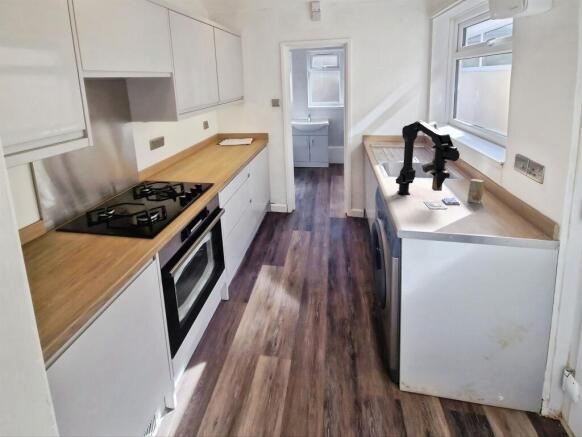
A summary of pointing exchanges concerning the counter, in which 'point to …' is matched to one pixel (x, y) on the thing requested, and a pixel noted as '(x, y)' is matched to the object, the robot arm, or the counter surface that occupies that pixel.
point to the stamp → (434, 185)
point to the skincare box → (475, 190)
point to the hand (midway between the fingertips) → (436, 187)
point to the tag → (435, 205)
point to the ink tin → (450, 201)
